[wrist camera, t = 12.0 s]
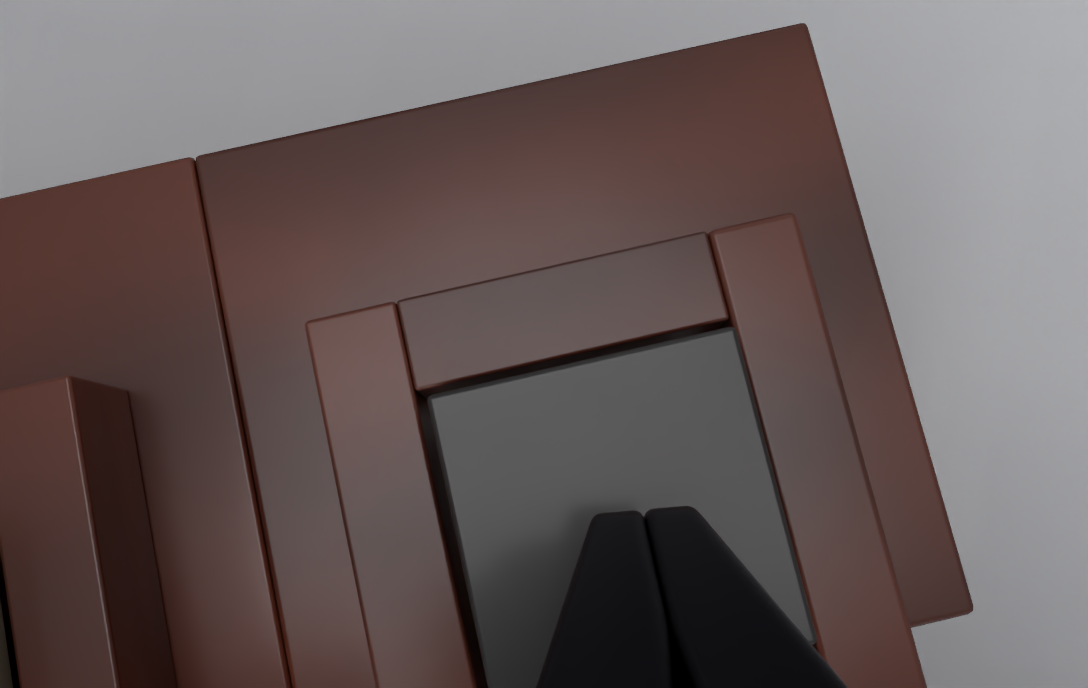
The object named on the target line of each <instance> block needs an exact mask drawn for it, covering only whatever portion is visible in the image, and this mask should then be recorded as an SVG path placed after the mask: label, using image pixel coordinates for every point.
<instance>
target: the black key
mask: <svg viewBox="0 0 1088 688" xmlns="http://www.w3.org/2000/svg"><path fill="white" fill-rule="evenodd" d="M427 403H428V408H429V412H430V417H431V422H432V426H433V431H434V436H435V441H436V445H437V450H438V455H439V459H440V464H441V469H442V473H443V478H444V483H445V488H446V492H447V497H448V502H449V506H450V511H451V516H452V520H453V525H454V530H455V534H456V539H457V544H458V549H459V553H460V558H461V563H462V567H463V572H464V577H465V581H466V586H467V591H468V595H469V600H470V605H471V610H472V614H473V619H474V624H475V628H476V633H477V638H478V642H479V647H480V652H481V656H482V661H483V666H484V671H485V675H486V680H487V685H488V688H536V686H537V683H538V680H539V676H540V673H541V670H542V667H543V664H544V661H545V658H546V655H547V652H548V649H549V646H550V643H551V640H552V637H553V634H554V631H555V628H556V625H557V622H558V619H559V616H560V613H561V610H562V607H563V603H564V600H565V597H566V594H567V591H568V588H569V585H570V582H571V579H572V576H573V573H574V570H575V567H576V564H577V561H578V558H579V555H580V552H581V549H582V546H583V543H584V540H585V537H586V534H587V530H588V527H589V524H590V522H591V520H592V518H593V517H594V516H595V515H596V514H599V513H609V512H620V511H632V510H635V511H638V512H640V513H641V514H642V515H643V517H644V515H645V513H646V512H647V511H649V510H650V509H655V508H666V507H678V506H691V507H693V508H695V509H696V510H697V511H698V512H699V513H700V514H701V515H702V516H703V517H704V518H705V519H706V521H707V522H708V523H709V524H710V525H711V527H712V528H713V529H714V530H715V531H716V532H717V534H718V535H719V536H720V537H721V538H722V539H723V541H724V542H725V543H726V544H727V545H728V547H729V548H730V549H731V550H732V551H733V552H734V554H735V555H736V556H737V557H738V558H739V560H740V561H741V562H742V563H743V564H744V565H745V567H746V568H747V569H748V570H749V571H750V572H751V574H752V575H753V576H754V577H755V578H756V580H757V581H758V582H759V583H760V584H761V585H762V587H763V588H764V589H765V590H766V591H767V592H768V594H769V595H770V596H771V597H772V598H773V600H774V601H775V602H776V603H777V604H778V605H779V607H780V608H781V609H782V610H783V611H784V612H785V614H786V615H787V616H788V617H789V618H790V620H791V621H792V622H793V623H794V624H795V625H796V627H797V628H798V629H799V630H800V631H801V633H802V634H803V635H804V636H805V637H806V638H807V640H808V641H809V642H810V643H811V644H812V645H813V644H815V643H816V641H817V636H816V632H815V628H814V624H813V621H812V617H811V613H810V609H809V605H808V602H807V598H806V594H805V590H804V586H803V582H802V579H801V575H800V571H799V567H798V563H797V560H796V556H795V552H794V548H793V544H792V541H791V537H790V533H789V529H788V525H787V521H786V518H785V514H784V510H783V506H782V502H781V499H780V495H779V491H778V487H777V483H776V480H775V476H774V472H773V468H772V464H771V460H770V457H769V453H768V449H767V445H766V441H765V438H764V434H763V430H762V426H761V422H760V419H759V415H758V411H757V407H756V403H755V399H754V396H753V392H752V388H751V384H750V380H749V377H748V373H747V369H746V365H745V361H744V357H743V354H742V350H741V346H740V342H739V338H738V335H737V331H736V330H735V328H734V327H726V328H722V329H717V330H713V331H708V332H704V333H700V334H695V335H691V336H687V337H682V338H678V339H673V340H669V341H665V342H660V343H656V344H652V345H647V346H643V347H638V348H634V349H630V350H625V351H621V352H617V353H612V354H608V355H603V356H599V357H595V358H590V359H586V360H582V361H577V362H573V363H568V364H564V365H560V366H555V367H551V368H547V369H542V370H538V371H534V372H529V373H525V374H520V375H516V376H512V377H507V378H503V379H499V380H494V381H490V382H485V383H481V384H477V385H472V386H468V387H464V388H459V389H455V390H450V391H446V392H442V393H437V394H433V395H431V396H429V397H428V400H427Z"/></svg>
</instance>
